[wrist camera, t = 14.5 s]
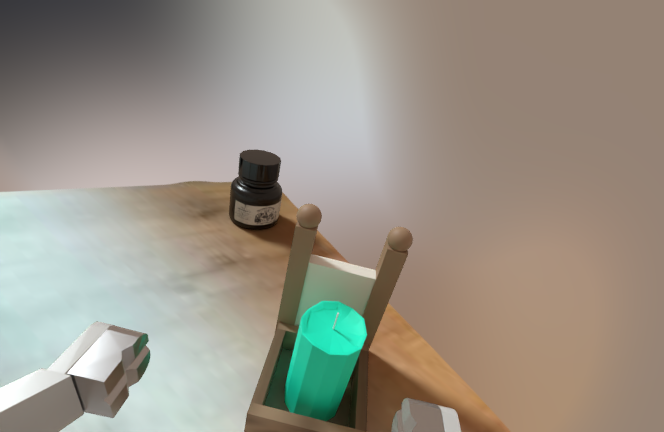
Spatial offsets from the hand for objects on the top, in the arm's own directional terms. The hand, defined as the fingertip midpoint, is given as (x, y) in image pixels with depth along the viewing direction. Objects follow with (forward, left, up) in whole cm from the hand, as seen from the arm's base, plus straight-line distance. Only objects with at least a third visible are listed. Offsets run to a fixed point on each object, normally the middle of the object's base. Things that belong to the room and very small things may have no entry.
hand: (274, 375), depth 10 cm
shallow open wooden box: (+3, +15, -23) cm, 27 cm away
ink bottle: (-14, +45, -23) cm, 52 cm away
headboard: (+3, +21, -23) cm, 31 cm away
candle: (+3, +14, -23) cm, 27 cm away
